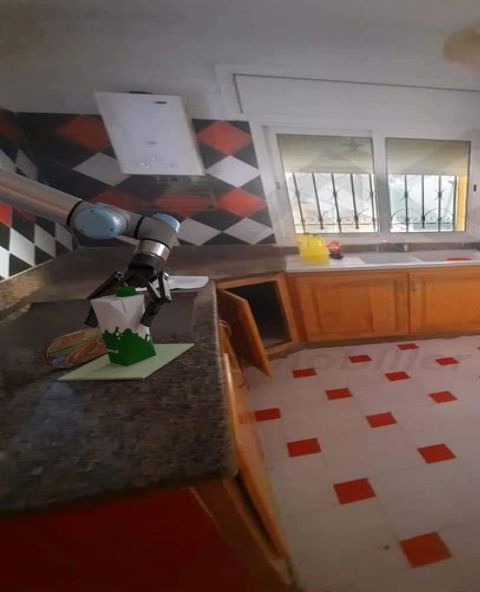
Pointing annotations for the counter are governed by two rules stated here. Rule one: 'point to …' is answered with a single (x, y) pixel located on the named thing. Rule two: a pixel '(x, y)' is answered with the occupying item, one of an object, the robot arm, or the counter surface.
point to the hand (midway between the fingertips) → (117, 325)
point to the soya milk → (124, 326)
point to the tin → (74, 348)
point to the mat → (140, 370)
